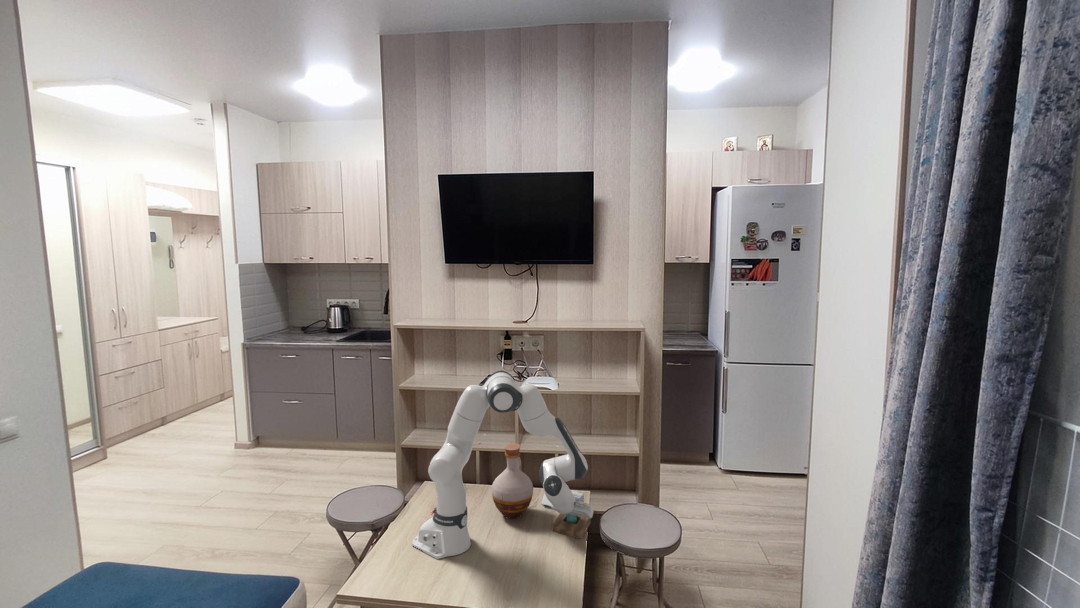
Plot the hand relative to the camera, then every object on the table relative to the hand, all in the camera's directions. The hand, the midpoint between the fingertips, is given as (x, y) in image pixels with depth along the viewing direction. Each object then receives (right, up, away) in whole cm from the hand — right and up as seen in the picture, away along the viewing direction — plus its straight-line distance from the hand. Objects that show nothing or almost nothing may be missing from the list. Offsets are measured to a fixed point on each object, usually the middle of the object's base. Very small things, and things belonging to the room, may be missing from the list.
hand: (572, 513), depth 192 cm
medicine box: (+1, -5, +11) cm, 12 cm away
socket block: (0, -6, 0) cm, 6 cm away
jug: (-25, -5, +11) cm, 28 cm away
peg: (0, -5, 0) cm, 5 cm away
